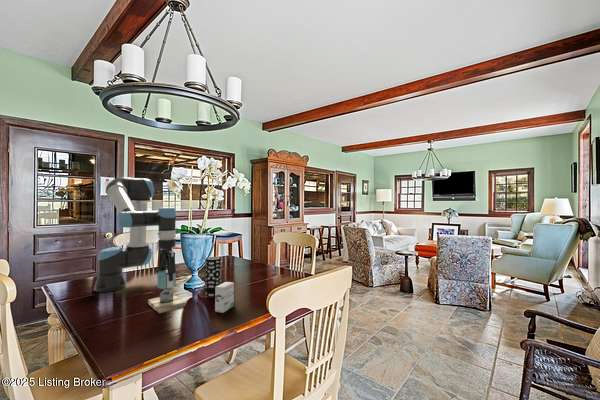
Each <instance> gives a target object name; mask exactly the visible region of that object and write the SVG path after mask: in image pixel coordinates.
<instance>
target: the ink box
mask: <svg viewBox="0 0 600 400" xmlns="http://www.w3.org/2000/svg"><path fill="white" fill-rule="evenodd" d="M234 297H235V283H234V282H231V281H225V282H223V283H222V282H221V284H220V285H218V286H216V287H215V298H214V299H215V300H214V301H215V302H214V311H215V312H216V313H221V314H224V313H225V312H227V311H228V310H230V309H232V308H234V306H235V298H234Z"/></svg>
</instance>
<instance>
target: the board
mask: <svg viewBox="0 0 600 400" xmlns="http://www.w3.org/2000/svg"><path fill="white" fill-rule="evenodd" d="M147 304H148V305H149V306H150V307H151V308H152V309H153V310H154V311H156V312H157V313H158V314H162V313H165V312H169V311H174V310H177V309H180V308H184V307H186V301H185V300H183V299H182V298H179V297H178V296H177V295H175V294H174V293H173V301H172V302H169V303H160V296H159V297H154V298H151V299H148V300H147Z"/></svg>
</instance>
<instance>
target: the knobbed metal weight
mask: <svg viewBox="0 0 600 400" xmlns="http://www.w3.org/2000/svg"><path fill="white" fill-rule="evenodd" d="M173 294H174V291H173V290H171V288H166V289H163V291H162V292H160V293H159V297H160V303H169V302H172V301H173Z"/></svg>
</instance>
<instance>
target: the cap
mask: <svg viewBox="0 0 600 400" xmlns="http://www.w3.org/2000/svg"><path fill="white" fill-rule="evenodd" d="M167 273H168V271H167V270H164V271H160V270H159V271H158V272H157V285H156V286H157V288H158V289H161V290H162V289H166V288H167V275H166V274H167ZM176 275H177V272H176V273H174V274H173V287H171V288H174V287H176V285H177V283H176V282H177V281H176V280H177V276H176ZM171 288H170V289H171Z"/></svg>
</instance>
